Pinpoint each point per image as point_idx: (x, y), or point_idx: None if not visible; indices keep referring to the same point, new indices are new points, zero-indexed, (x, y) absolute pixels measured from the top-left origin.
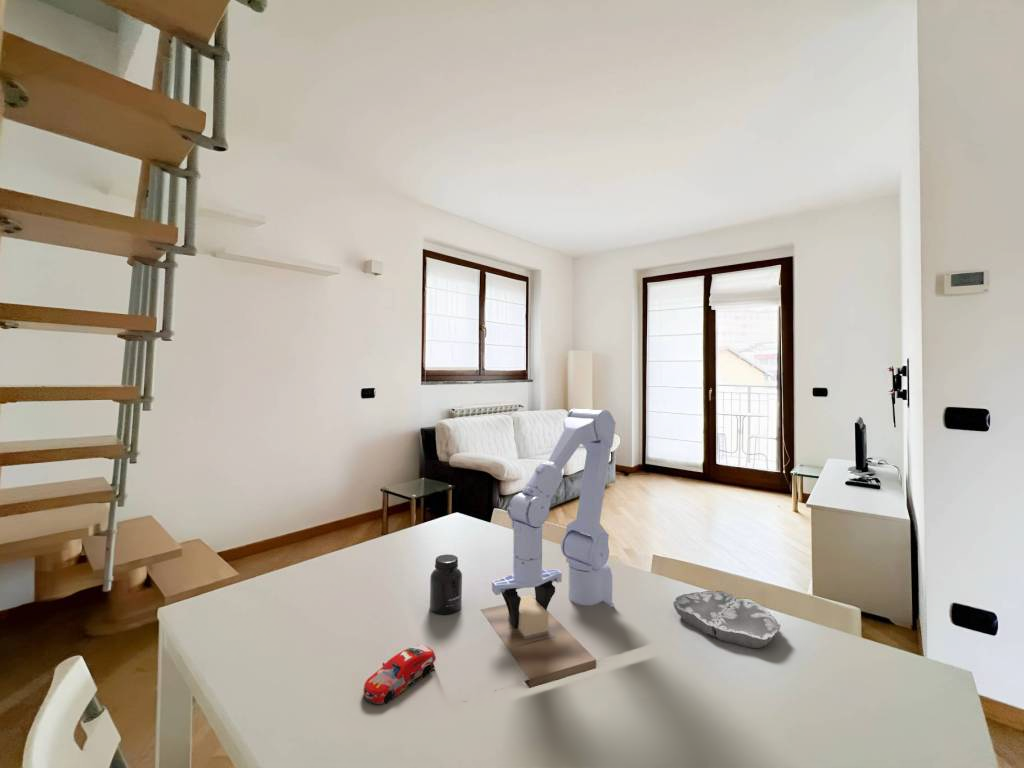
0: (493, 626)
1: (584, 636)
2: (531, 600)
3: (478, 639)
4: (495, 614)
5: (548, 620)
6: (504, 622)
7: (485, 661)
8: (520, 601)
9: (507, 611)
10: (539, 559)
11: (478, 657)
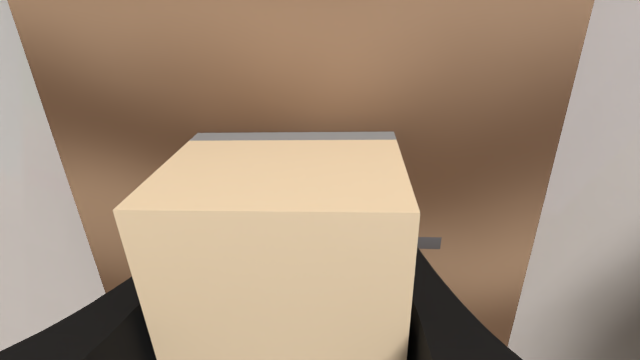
0: (75, 181)
1: (579, 355)
2: (362, 322)
3: (14, 175)
4: (105, 26)
5: (468, 258)
6: (160, 165)
7: None
8: (236, 300)
9: (222, 14)
10: None
11: (19, 298)
